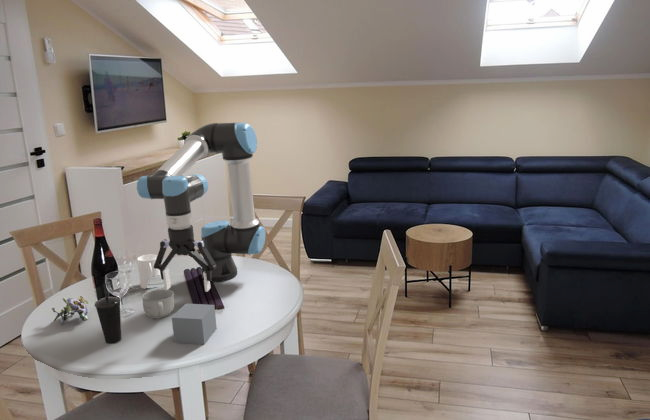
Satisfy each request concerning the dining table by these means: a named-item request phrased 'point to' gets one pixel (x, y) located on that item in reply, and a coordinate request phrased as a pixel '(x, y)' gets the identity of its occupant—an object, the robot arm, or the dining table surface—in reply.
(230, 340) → the dining table surface
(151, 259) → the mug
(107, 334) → the drinking cup
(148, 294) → the teacup
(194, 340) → the grey matte cube
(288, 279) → the dining table surface
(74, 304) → the passion flower
